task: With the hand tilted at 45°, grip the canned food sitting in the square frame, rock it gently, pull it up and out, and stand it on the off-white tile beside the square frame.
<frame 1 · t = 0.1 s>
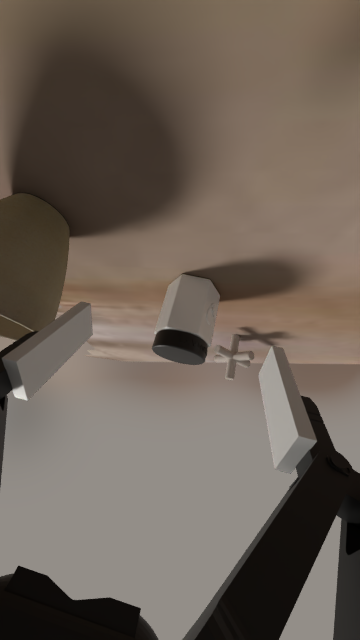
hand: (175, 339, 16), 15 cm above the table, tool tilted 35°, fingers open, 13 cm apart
light grey toy jack: (235, 335, 52), on the table
jar: (194, 288, 38), on the table
plant pot: (44, 216, 31), on the table
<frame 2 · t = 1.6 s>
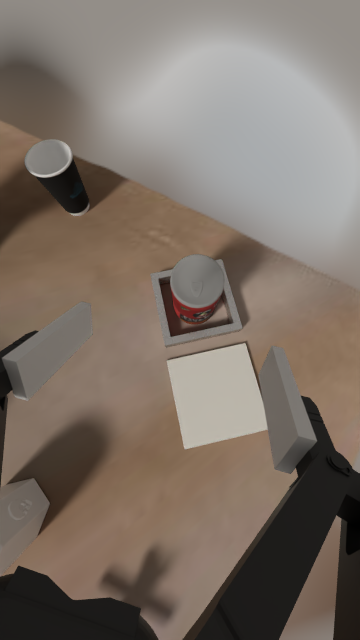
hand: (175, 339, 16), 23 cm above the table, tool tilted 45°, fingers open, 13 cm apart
jar: (22, 509, 34), on the table
square frame: (194, 304, 41), on the table
canned food: (194, 305, 41), resting in square frame
tile: (216, 393, 37), on the table
dixie cup: (78, 207, 48), on the table
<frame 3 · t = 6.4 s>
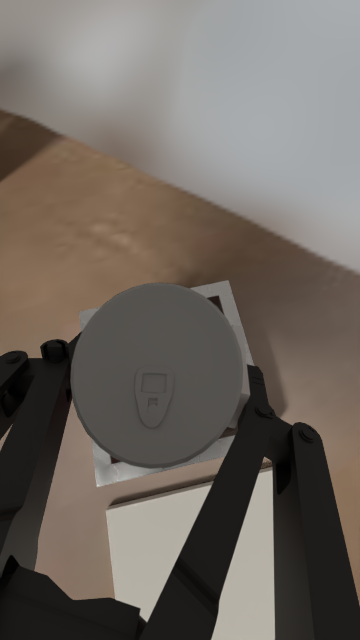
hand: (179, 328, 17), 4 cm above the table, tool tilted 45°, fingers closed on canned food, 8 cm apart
square frame: (171, 373, 20), on the table
canned food: (171, 373, 20), resting in square frame, touching gripper
tile: (216, 595, 16), on the table
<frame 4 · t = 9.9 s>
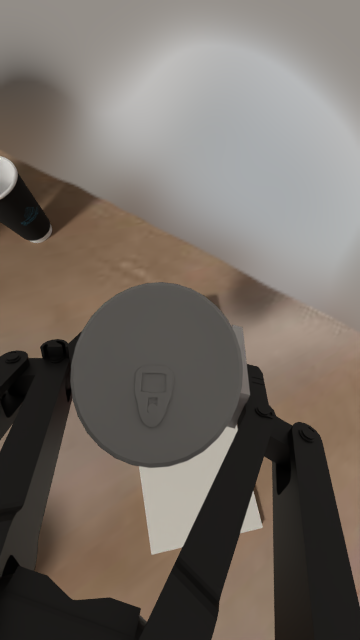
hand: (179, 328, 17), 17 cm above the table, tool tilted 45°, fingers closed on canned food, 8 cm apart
canned food: (171, 373, 20), point 13 cm above the table, touching gripper
tile: (194, 474, 30), on the table
dixie cup: (39, 232, 40), on the table
when the fingers open (6 cm above the table, at t = 13.9 s): canned food drops 1 cm, resting on tile.
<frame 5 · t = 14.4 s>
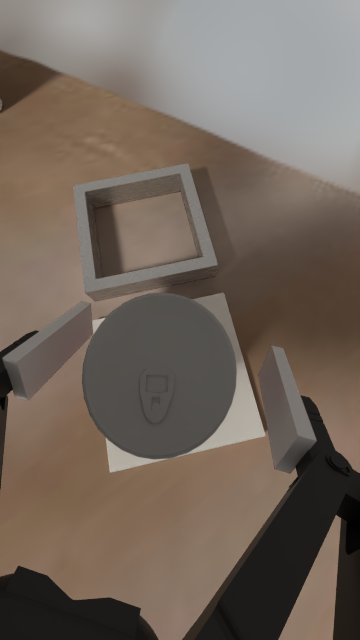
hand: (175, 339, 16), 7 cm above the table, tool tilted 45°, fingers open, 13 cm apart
square frame: (144, 237, 26), on the table
canned food: (172, 374, 21), resting on tile
tile: (172, 374, 22), on the table
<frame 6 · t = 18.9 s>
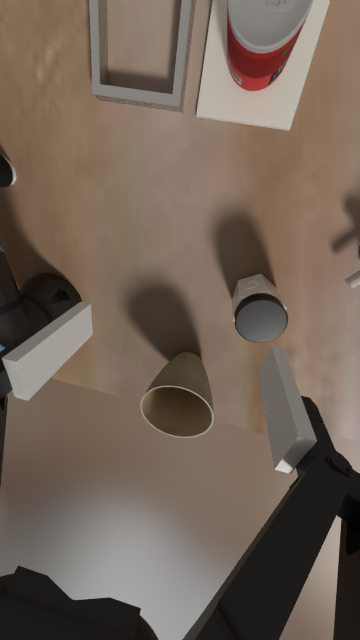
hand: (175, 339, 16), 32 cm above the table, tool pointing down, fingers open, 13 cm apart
jar: (253, 293, 46), on the table
square frame: (143, 43, 31), on the table
plant pot: (188, 362, 58), on the table
canned food: (257, 55, 30), resting on tile
tile: (257, 56, 30), on the table
dixie cup: (5, 171, 43), on the table
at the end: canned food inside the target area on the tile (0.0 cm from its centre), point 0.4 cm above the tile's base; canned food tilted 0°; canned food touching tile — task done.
